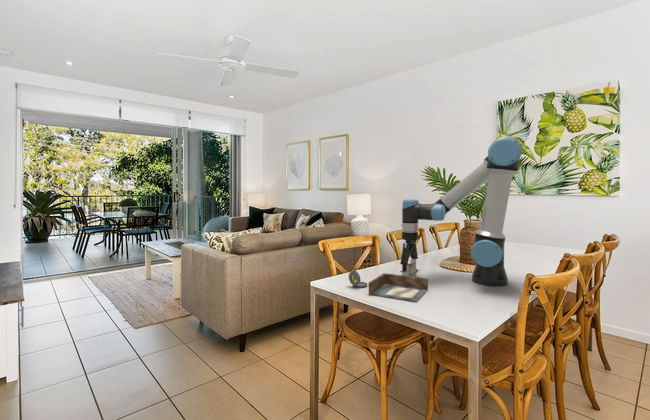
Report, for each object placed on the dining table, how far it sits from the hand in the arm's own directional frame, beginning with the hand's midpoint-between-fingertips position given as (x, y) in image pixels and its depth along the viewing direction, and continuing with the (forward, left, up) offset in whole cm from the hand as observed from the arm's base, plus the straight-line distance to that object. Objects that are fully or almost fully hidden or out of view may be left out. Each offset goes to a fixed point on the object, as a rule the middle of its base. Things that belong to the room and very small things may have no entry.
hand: (409, 275), depth 163 cm
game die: (0, 0, -2) cm, 2 cm away
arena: (-2, +23, -2) cm, 23 cm away
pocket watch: (+17, +23, -2) cm, 29 cm away
